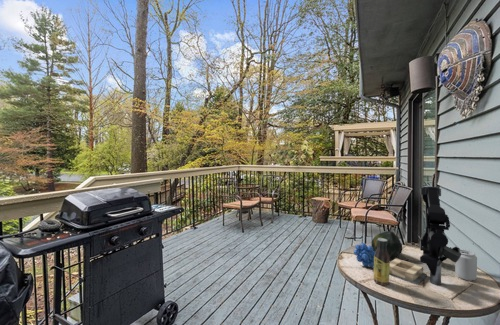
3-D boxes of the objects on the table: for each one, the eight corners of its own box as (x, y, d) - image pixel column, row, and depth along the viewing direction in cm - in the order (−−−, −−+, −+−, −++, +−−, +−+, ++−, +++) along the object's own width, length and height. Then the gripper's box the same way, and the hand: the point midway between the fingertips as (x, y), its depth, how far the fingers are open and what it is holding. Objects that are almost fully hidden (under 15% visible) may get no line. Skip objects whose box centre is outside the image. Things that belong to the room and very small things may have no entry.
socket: (392, 264, 128) (392, 257, 128) (426, 276, 116) (426, 267, 116) (381, 272, 121) (381, 264, 121) (416, 284, 109) (416, 275, 109)
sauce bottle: (370, 279, 114) (370, 236, 114) (383, 278, 115) (383, 236, 114) (379, 287, 108) (379, 242, 107) (392, 286, 108) (393, 241, 108)
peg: (431, 279, 113) (431, 258, 113) (442, 283, 110) (442, 261, 109) (428, 282, 111) (428, 260, 110) (439, 286, 107) (439, 263, 107)
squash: (365, 239, 150) (374, 226, 140) (391, 240, 150) (401, 227, 139) (373, 262, 140) (382, 250, 130) (400, 263, 139) (412, 251, 129)
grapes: (352, 267, 127) (352, 244, 126) (354, 262, 132) (354, 240, 132) (378, 272, 120) (378, 248, 120) (379, 267, 126) (379, 243, 126)
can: (471, 274, 117) (472, 249, 116) (480, 282, 110) (480, 256, 109) (452, 272, 119) (452, 248, 119) (459, 280, 112) (460, 254, 112)
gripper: (452, 250, 97) (451, 289, 98) (465, 239, 109) (464, 274, 109) (419, 242, 106) (419, 278, 107) (434, 233, 118) (434, 265, 118)
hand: (435, 274), depth 110 cm, fingers closed on peg, 4 cm apart
